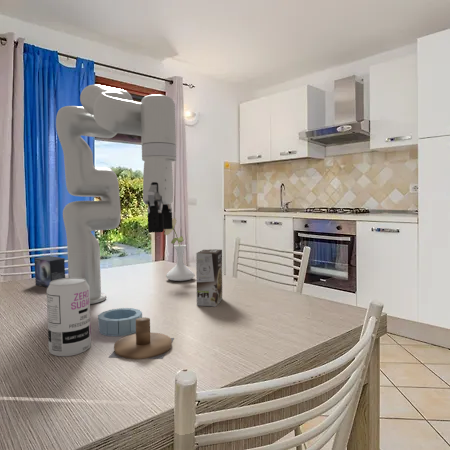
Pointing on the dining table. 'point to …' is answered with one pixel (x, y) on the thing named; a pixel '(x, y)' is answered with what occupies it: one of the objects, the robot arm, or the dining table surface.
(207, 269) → the coffee box
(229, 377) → the dining table surface
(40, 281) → the small box
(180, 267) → the flower in vase
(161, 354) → the mat
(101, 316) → the bowl
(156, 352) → the lid
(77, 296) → the supplement can
